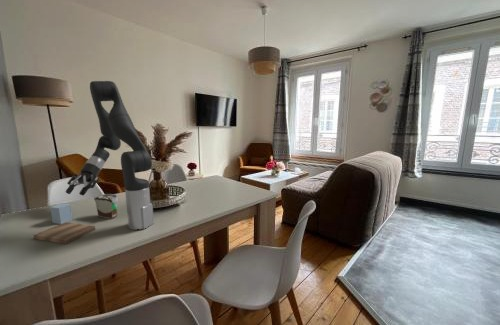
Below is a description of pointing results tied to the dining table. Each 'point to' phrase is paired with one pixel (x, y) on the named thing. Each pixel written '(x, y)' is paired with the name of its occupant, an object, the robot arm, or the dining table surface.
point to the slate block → (61, 213)
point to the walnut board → (64, 232)
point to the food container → (106, 205)
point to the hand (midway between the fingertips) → (74, 194)
